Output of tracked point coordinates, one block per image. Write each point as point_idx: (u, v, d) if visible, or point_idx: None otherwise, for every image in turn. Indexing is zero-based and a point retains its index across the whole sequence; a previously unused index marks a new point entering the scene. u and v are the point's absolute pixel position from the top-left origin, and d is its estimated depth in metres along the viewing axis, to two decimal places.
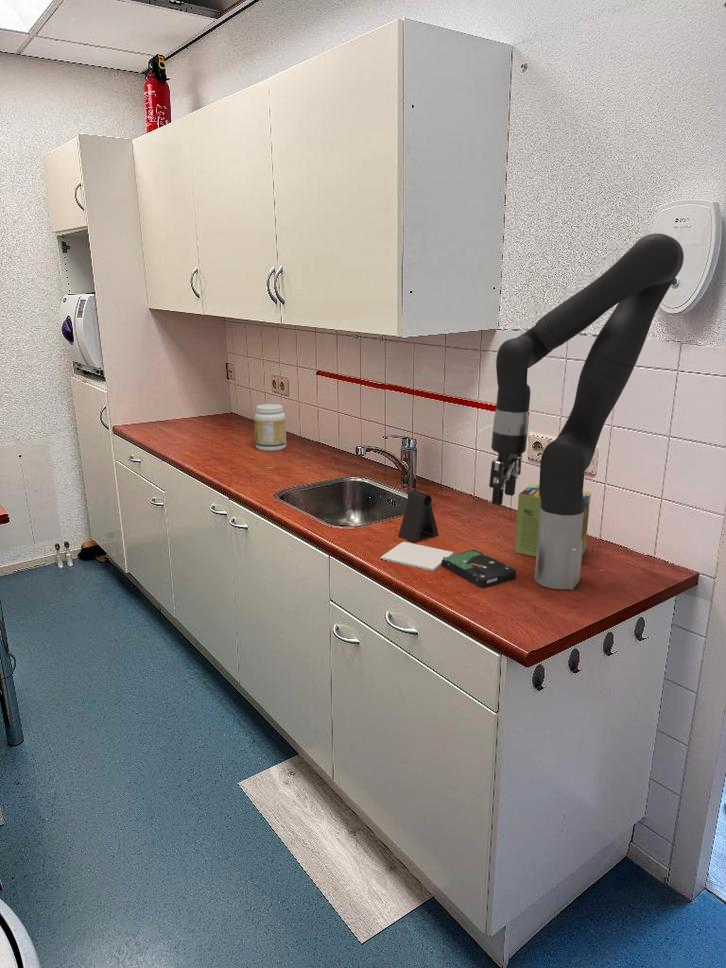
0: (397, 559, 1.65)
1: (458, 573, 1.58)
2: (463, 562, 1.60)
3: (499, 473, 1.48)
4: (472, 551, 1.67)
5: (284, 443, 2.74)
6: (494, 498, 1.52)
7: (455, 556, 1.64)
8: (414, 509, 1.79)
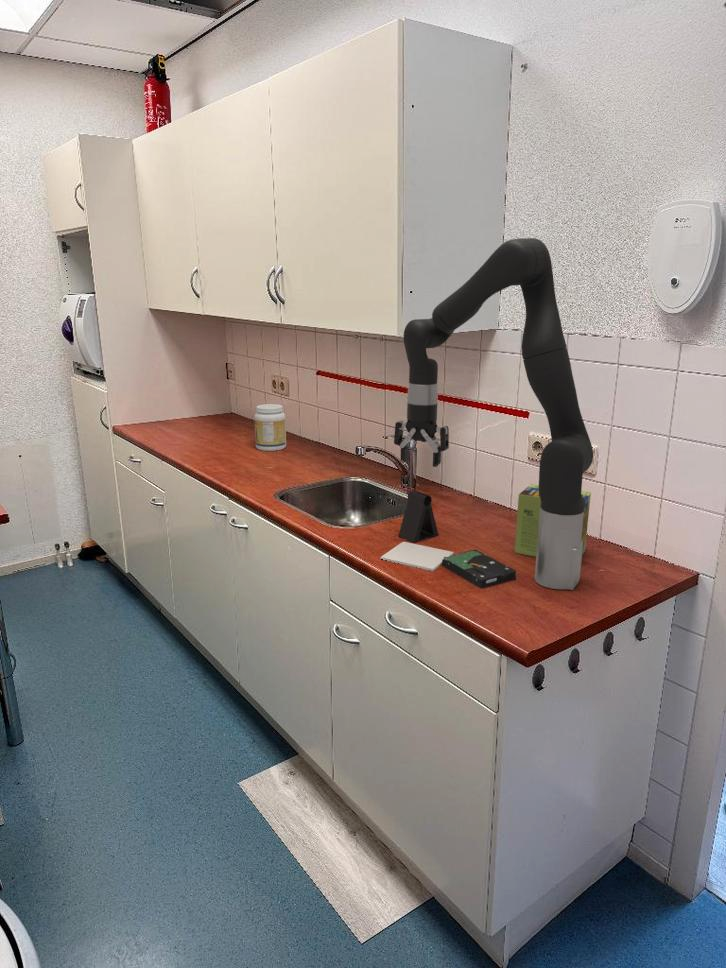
0: (397, 559, 1.65)
1: (458, 573, 1.58)
2: (463, 562, 1.60)
3: (447, 435, 1.72)
4: (473, 551, 1.67)
5: (284, 443, 2.74)
6: (438, 460, 1.73)
7: (456, 556, 1.64)
8: (414, 509, 1.79)
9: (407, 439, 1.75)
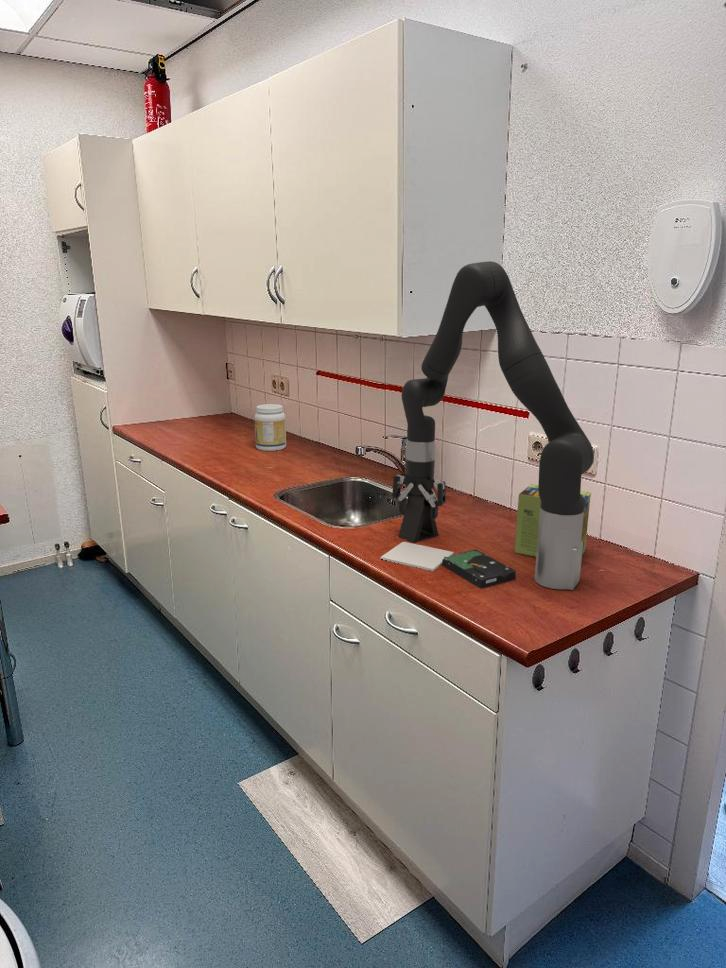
0: (397, 559, 1.65)
1: (458, 573, 1.58)
2: (464, 562, 1.60)
3: (444, 491, 1.76)
4: (473, 551, 1.67)
5: (284, 443, 2.74)
6: (436, 514, 1.77)
7: (456, 556, 1.64)
8: (414, 509, 1.79)
9: (405, 493, 1.79)
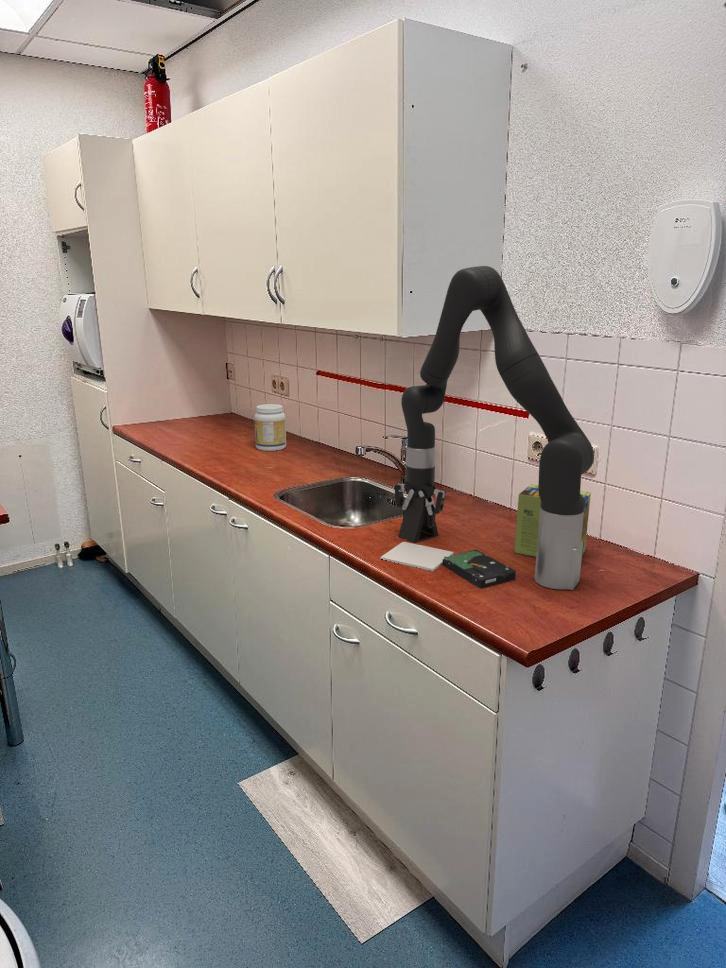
0: (397, 559, 1.65)
1: (458, 573, 1.58)
2: (464, 562, 1.60)
3: (443, 499, 1.77)
4: (474, 551, 1.67)
5: (284, 443, 2.74)
6: (433, 522, 1.78)
7: (456, 556, 1.64)
8: (414, 509, 1.79)
9: (407, 501, 1.79)
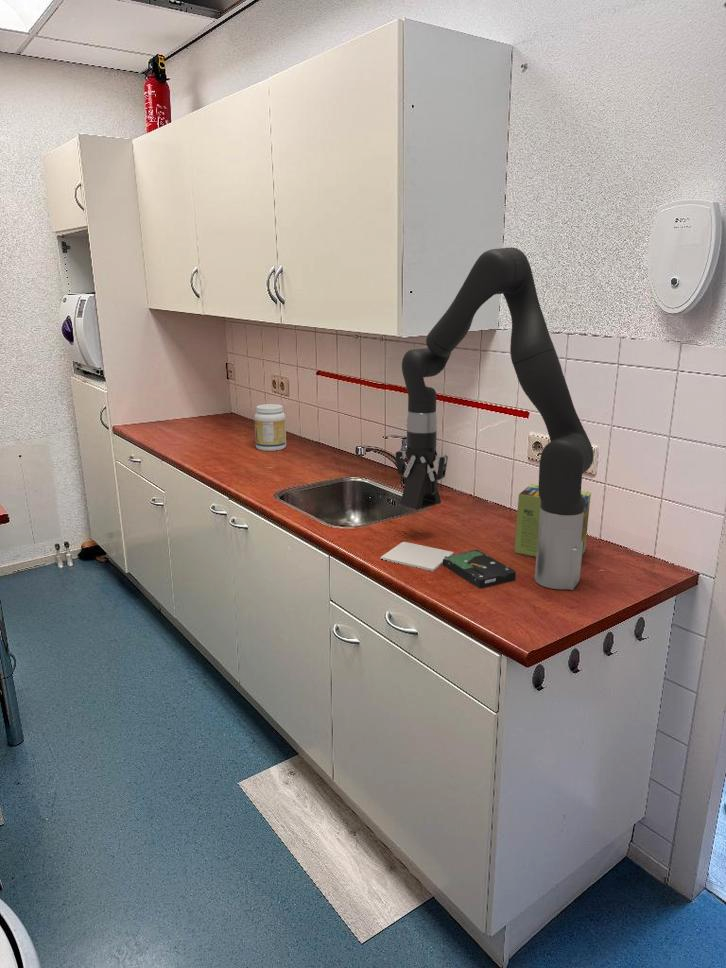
0: (397, 559, 1.65)
1: (458, 573, 1.58)
2: (464, 562, 1.60)
3: (446, 465, 1.74)
4: (475, 551, 1.67)
5: (284, 443, 2.74)
6: (435, 488, 1.76)
7: (456, 556, 1.64)
8: (416, 476, 1.76)
9: (409, 467, 1.77)
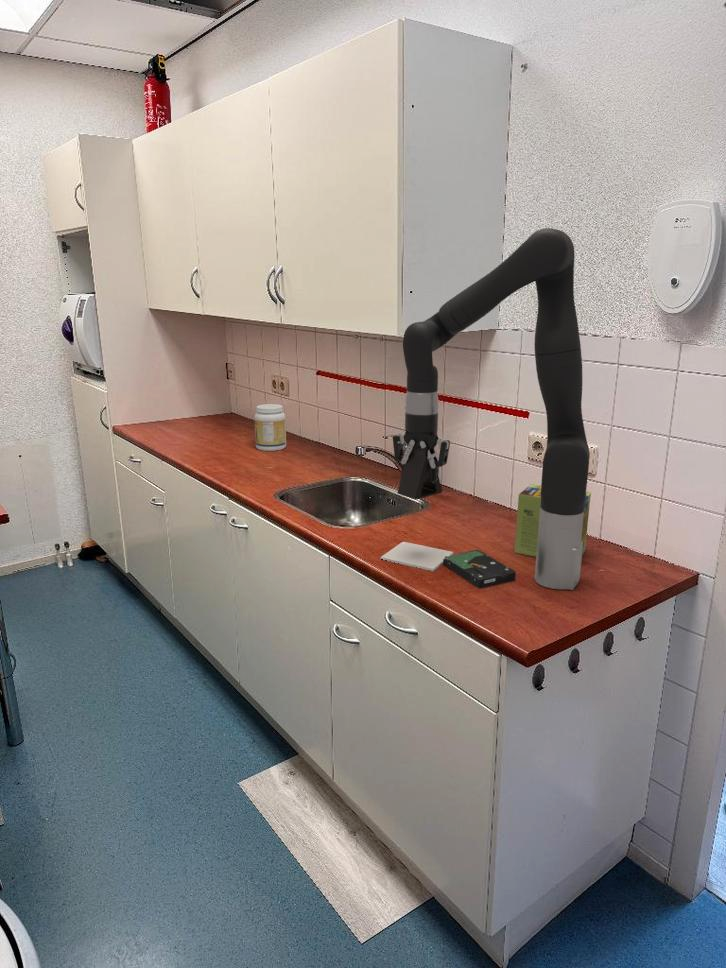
0: (397, 559, 1.65)
1: (458, 572, 1.58)
2: (464, 562, 1.60)
3: (448, 451, 1.58)
4: (475, 551, 1.67)
5: (284, 443, 2.74)
6: (436, 476, 1.60)
7: (457, 556, 1.64)
8: (415, 462, 1.60)
9: (407, 453, 1.61)
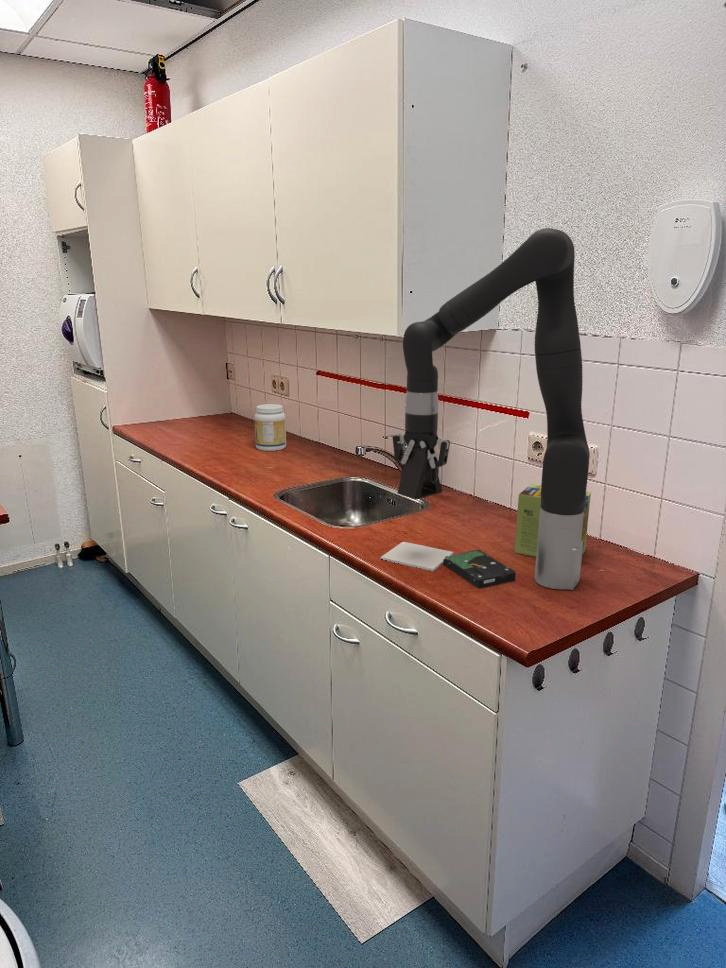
0: (397, 559, 1.65)
1: (458, 572, 1.58)
2: (464, 562, 1.60)
3: (448, 450, 1.58)
4: (476, 551, 1.67)
5: (284, 443, 2.74)
6: (436, 476, 1.60)
7: (457, 555, 1.64)
8: (415, 462, 1.60)
9: (407, 453, 1.61)
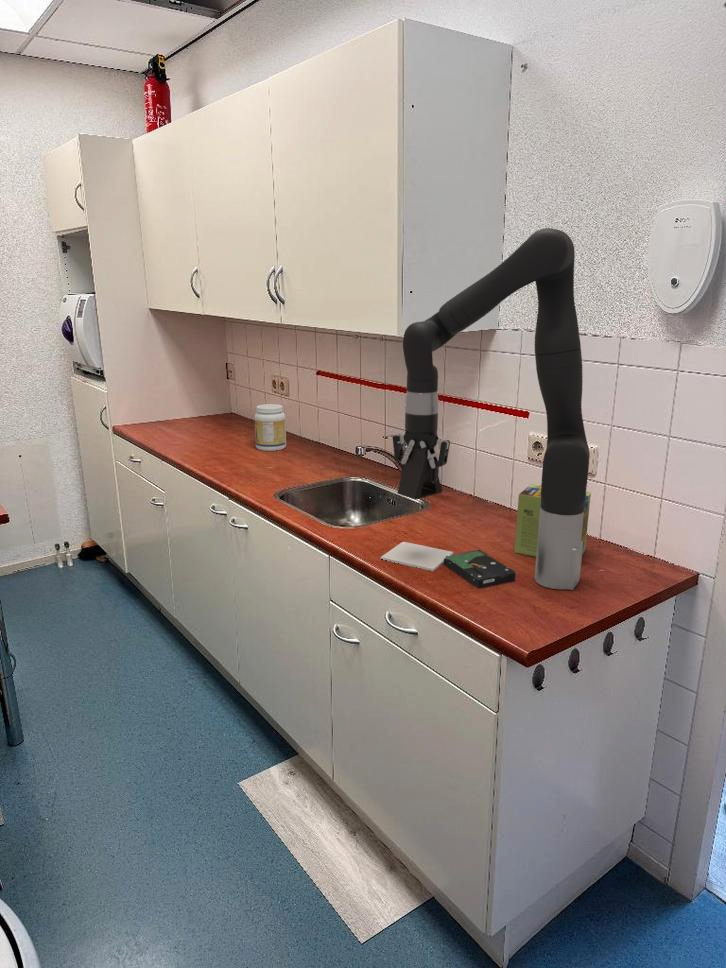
0: (397, 559, 1.65)
1: (458, 572, 1.58)
2: (464, 562, 1.60)
3: (448, 450, 1.58)
4: (477, 551, 1.67)
5: (284, 443, 2.74)
6: (436, 476, 1.60)
7: (458, 555, 1.64)
8: (415, 462, 1.60)
9: (407, 453, 1.61)
